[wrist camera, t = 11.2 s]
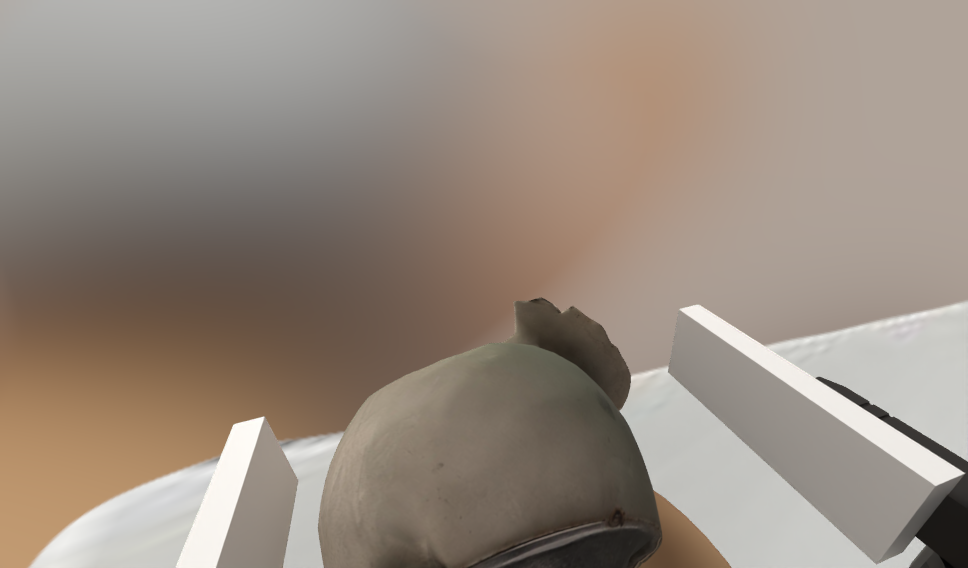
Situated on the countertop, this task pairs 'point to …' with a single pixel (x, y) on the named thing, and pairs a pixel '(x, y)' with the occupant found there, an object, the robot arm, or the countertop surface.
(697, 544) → the lazy susan
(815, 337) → the countertop surface
